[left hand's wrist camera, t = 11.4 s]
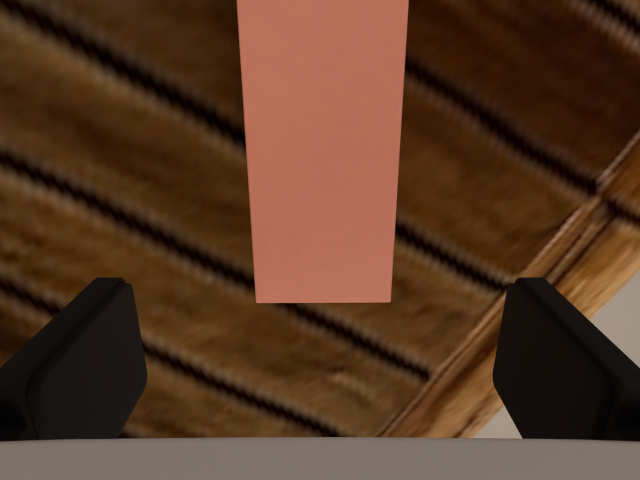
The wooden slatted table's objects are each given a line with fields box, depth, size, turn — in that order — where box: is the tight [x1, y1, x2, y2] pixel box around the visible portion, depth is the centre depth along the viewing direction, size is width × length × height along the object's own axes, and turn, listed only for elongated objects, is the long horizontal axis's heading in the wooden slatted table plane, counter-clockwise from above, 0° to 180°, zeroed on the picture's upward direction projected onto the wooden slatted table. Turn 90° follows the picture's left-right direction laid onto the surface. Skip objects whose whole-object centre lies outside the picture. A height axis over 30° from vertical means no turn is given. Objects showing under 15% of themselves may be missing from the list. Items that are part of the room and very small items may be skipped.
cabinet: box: [237, 0, 409, 303], centre depth 22 cm, size 20×6×9 cm, turn 0°
